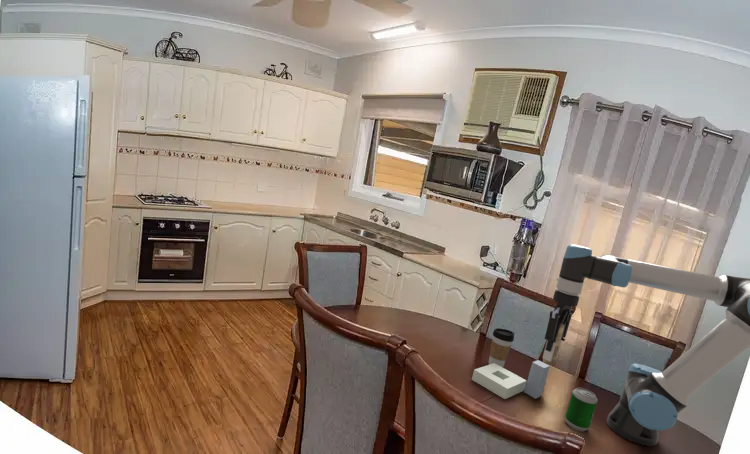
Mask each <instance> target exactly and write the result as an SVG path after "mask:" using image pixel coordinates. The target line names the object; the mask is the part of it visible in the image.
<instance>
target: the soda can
mask: <svg viewBox="0 0 750 454" xmlns="http://www.w3.org/2000/svg"><path fill="white" fill-rule="evenodd" d="M598 400H599V399H598V398H597V396H596V394H595V393H594V392H593V391H591V390H589V389H586V388H583V387H577V388H575V389H573V390H572V393H571V395H570V400H569V403H568V406H567V409H566V413H565V417H564V420H565V422H566V424H567V425H568V426H569V427H570V428H572V429H574V430H576V431H578V432H585V431H588V430H589V429H590V427H591V423H592V420H593V417H594V414H595V410H596V408H597V405H598Z"/></svg>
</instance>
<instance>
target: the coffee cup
mask: <svg viewBox="0 0 750 454" xmlns="http://www.w3.org/2000/svg"><path fill="white" fill-rule="evenodd" d="M492 335H493V336H492V340H491V345H490V351H489V359H488V365H489V364H492V363H495V364H497V365H499V366H501V367H502V368H504V366H505V363H506V361H507V358H508V354H509V353H510V350H511V346H512V343H513V342H514V340H515V332H513V331H511V329H510V330H509V329H506V328H502V327H501V328H494V329H493V332H492Z"/></svg>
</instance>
